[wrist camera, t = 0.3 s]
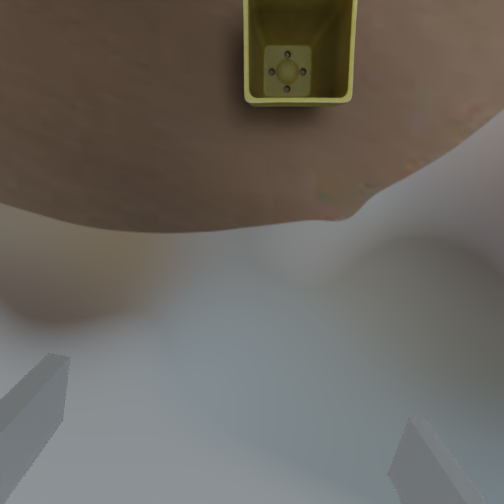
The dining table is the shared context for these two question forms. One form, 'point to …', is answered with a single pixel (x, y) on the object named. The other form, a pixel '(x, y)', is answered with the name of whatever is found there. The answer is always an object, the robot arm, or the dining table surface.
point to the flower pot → (299, 52)
